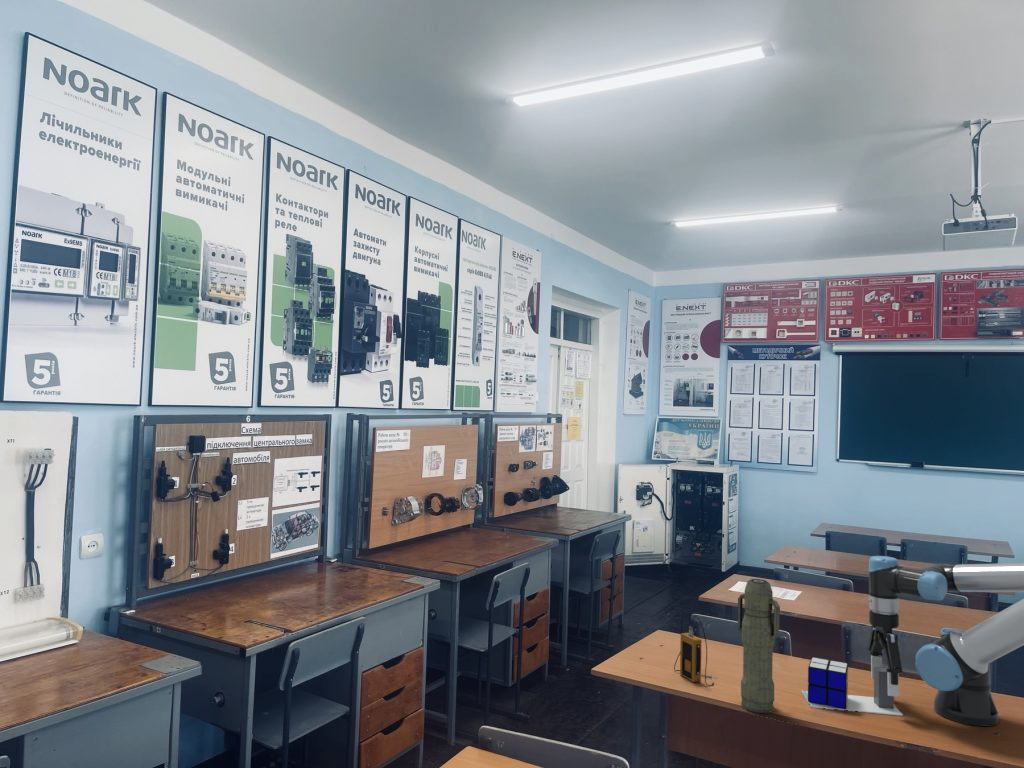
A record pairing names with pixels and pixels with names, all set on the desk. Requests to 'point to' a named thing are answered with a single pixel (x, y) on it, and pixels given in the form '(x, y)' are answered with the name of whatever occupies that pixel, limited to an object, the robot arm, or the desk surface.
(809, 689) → the puzzle cube
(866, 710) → the white flat base
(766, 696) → the thermos
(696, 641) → the multimeter
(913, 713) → the desk surface
